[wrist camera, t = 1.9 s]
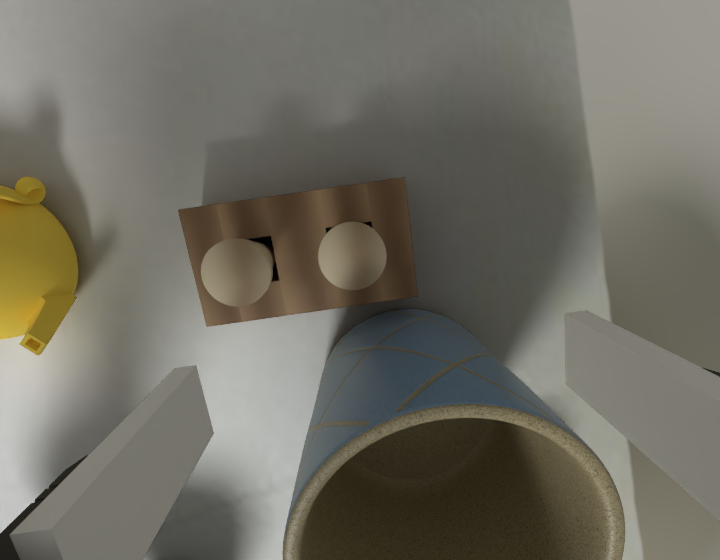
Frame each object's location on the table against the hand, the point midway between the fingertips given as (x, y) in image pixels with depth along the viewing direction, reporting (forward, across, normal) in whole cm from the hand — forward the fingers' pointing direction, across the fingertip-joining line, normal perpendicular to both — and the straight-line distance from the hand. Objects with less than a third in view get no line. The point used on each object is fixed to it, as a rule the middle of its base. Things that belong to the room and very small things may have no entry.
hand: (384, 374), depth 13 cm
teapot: (+31, -37, +4) cm, 48 cm away
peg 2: (+26, -1, +1) cm, 27 cm away
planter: (+31, +3, -18) cm, 36 cm away
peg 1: (+26, -11, +1) cm, 29 cm away
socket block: (+31, -6, +1) cm, 32 cm away
